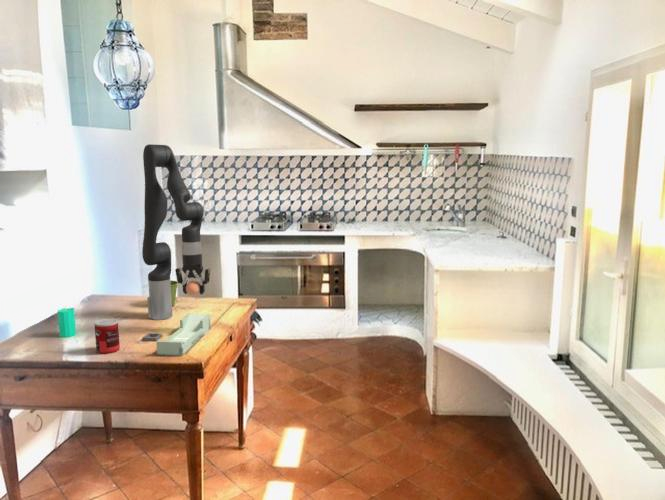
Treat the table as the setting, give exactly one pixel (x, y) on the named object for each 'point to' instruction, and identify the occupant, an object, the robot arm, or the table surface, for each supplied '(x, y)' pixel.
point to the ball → (193, 288)
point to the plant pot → (173, 291)
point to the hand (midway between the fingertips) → (194, 293)
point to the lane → (185, 335)
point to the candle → (66, 322)
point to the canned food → (107, 336)
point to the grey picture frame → (152, 337)
